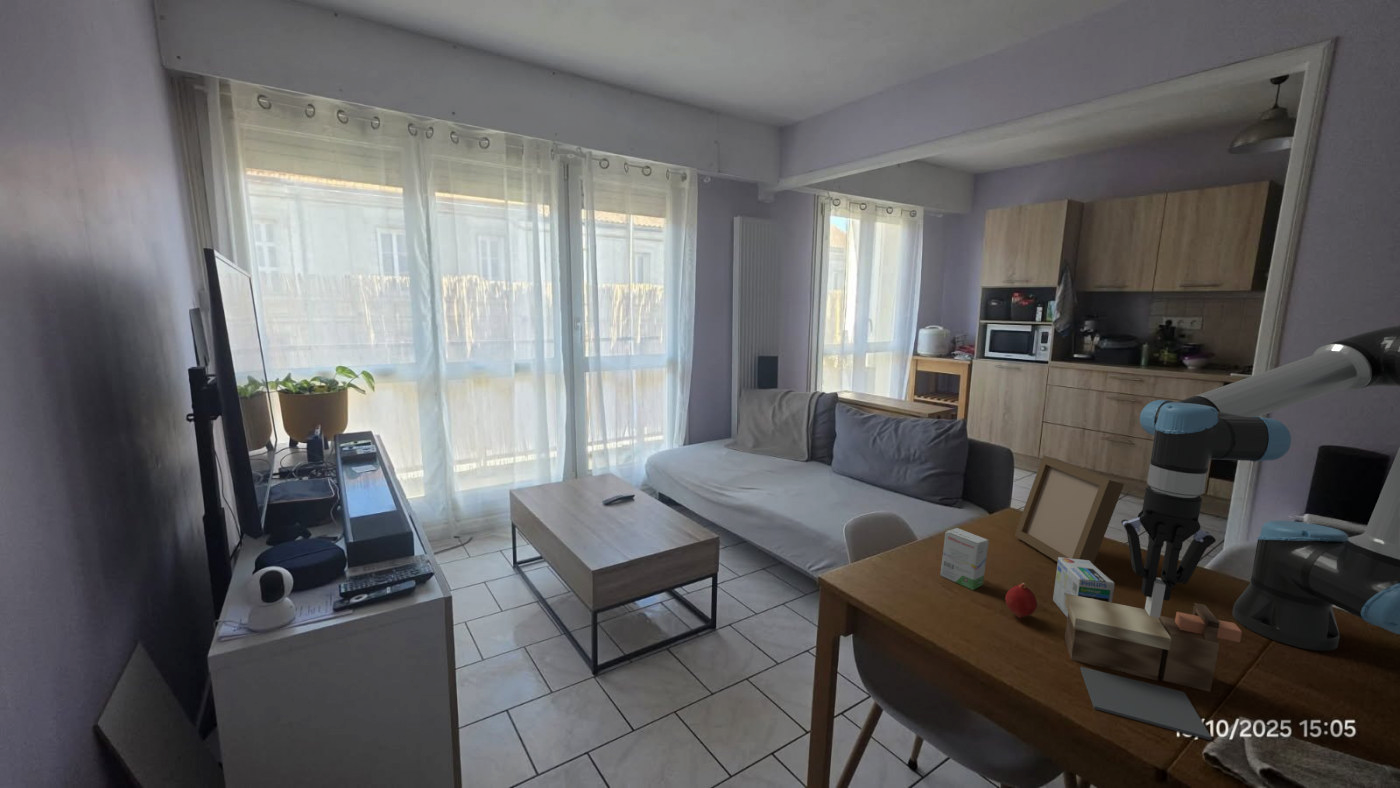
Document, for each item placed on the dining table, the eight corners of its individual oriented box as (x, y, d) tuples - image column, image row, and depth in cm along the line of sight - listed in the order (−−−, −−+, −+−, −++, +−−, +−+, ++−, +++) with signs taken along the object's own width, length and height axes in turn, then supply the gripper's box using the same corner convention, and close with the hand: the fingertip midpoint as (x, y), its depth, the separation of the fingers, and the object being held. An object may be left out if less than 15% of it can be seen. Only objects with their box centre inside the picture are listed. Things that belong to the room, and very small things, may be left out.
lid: (1151, 621, 102) (1153, 611, 102) (1169, 650, 94) (1171, 638, 93) (1064, 603, 108) (1066, 593, 108) (1074, 628, 100) (1075, 618, 99)
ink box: (939, 575, 133) (943, 531, 131) (951, 570, 136) (955, 526, 134) (973, 591, 126) (978, 544, 124) (984, 584, 129) (989, 538, 127)
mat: (1183, 694, 93) (1184, 692, 93) (1211, 740, 83) (1211, 737, 83) (1080, 669, 99) (1080, 666, 99) (1094, 708, 89) (1094, 706, 89)
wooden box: (1195, 669, 99) (1207, 604, 97) (1211, 693, 93) (1224, 624, 91) (1064, 639, 108) (1072, 578, 106) (1071, 659, 102) (1080, 595, 100)
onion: (998, 609, 119) (1002, 575, 117) (1024, 609, 118) (1028, 576, 117) (1012, 624, 113) (1017, 589, 111) (1040, 625, 113) (1045, 590, 111)
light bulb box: (1109, 631, 111) (1116, 583, 109) (1073, 626, 112) (1079, 579, 111) (1083, 603, 121) (1090, 559, 120) (1051, 599, 123) (1056, 556, 121)
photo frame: (1073, 576, 134) (1088, 480, 130) (1013, 538, 155) (1024, 455, 151) (1127, 574, 135) (1143, 479, 131) (1060, 537, 157) (1072, 455, 153)
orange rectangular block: (1232, 633, 95) (1234, 623, 94) (1239, 642, 92) (1242, 631, 92) (1174, 621, 98) (1176, 611, 98) (1180, 629, 96) (1182, 619, 95)
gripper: (1212, 490, 95) (1189, 612, 99) (1122, 478, 100) (1103, 595, 104) (1232, 504, 88) (1207, 634, 92) (1134, 491, 93) (1114, 614, 97)
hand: (1152, 613), depth 98 cm, fingers closed
